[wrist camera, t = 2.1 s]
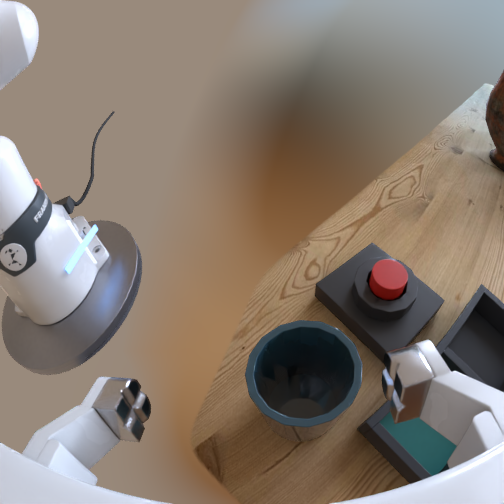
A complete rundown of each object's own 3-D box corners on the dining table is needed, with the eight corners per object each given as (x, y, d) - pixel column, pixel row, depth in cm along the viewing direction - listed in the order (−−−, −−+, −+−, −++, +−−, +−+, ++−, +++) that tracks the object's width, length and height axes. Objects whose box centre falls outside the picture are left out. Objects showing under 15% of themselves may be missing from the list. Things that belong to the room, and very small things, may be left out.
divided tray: (356, 428, 20) (365, 422, 18) (468, 302, 26) (481, 283, 24) (422, 496, 14) (440, 497, 12) (521, 352, 20) (538, 337, 17)
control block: (314, 296, 31) (316, 272, 28) (369, 254, 33) (374, 230, 30) (387, 366, 24) (399, 350, 21) (437, 311, 26) (451, 290, 24)
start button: (361, 283, 27) (364, 272, 25) (384, 264, 28) (387, 253, 26) (388, 307, 24) (393, 296, 23) (410, 285, 25) (414, 274, 24)
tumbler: (248, 399, 24) (224, 360, 17) (308, 358, 26) (312, 301, 19) (293, 456, 20) (291, 450, 12) (355, 409, 22) (385, 374, 14)
